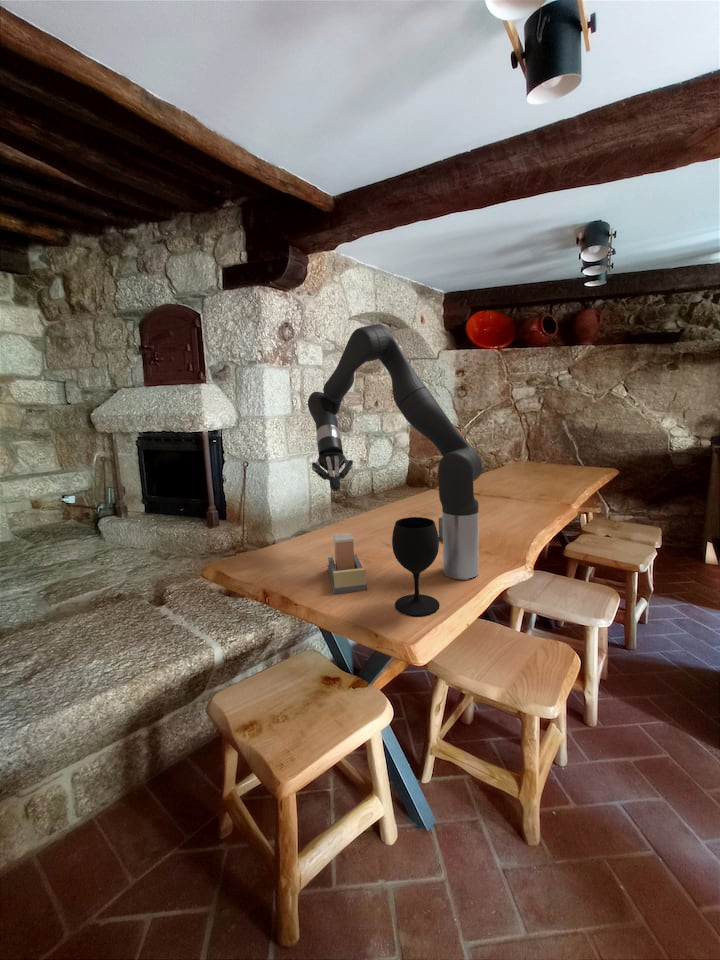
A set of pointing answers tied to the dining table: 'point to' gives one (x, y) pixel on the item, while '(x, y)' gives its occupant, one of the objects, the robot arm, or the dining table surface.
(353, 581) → the key track
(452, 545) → the robot arm
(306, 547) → the dining table surface
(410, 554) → the wine glass
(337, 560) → the block
